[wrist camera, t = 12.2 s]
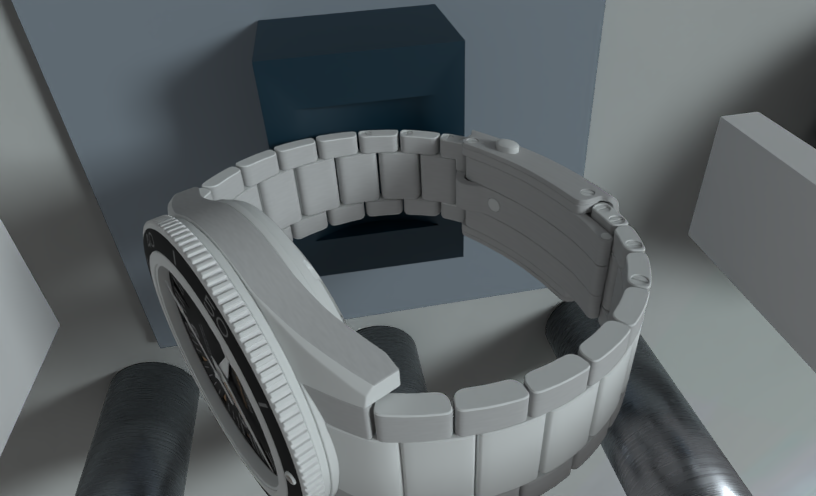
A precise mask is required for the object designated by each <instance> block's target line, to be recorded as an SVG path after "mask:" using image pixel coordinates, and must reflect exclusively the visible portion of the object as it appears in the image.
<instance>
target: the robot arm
mask: <svg viewBox="0 0 816 496" xmlns="http://www.w3.org/2000/svg"><path fill="white" fill-rule="evenodd" d="M688 235H689V236H690V237H691V239H692V240H693V241H694V242H695V243H696V244H697V245H698V246H699V247H700V248H701V249H702V250H703V252H704V253H705V254H706V255H707V256H708V257H709V258H710V259H711V260H712V261H713V262H714V263H715V264H716V266H717V267H718V268H719V269H720V270H721V271H722V272H723V273H724V274H725V275H726V276H727V277H728V279H729V280H730V281H731V282H732V283H733V284H734V285H735V286H736V287H737V288H738V289H739V290H740V292H741V293H742V294H743V295H744V296H745V297H746V298H747V299H748V300H749V301H750V302H751V303H752V304H753V306H754V307H755V308H756V309H757V310H758V311H759V312H760V313H761V314H762V315H763V316H764V317H765V319H766V320H767V321H768V322H769V323H770V324H771V325H772V326H773V327H774V328H775V329H776V330H777V332H778V333H779V334H780V335H781V336H782V337H783V338H784V339H785V340H786V341H787V342H788V343H789V344H790V346H791V347H792V348H793V349H794V350H795V351H796V352H797V353H798V354H799V355H800V356H801V357H802V359H803V360H804V361H805V362H806V363H807V364H808V365H809V366H810V367H811V368H812V369H813V370H814V372H815V373H816V149H815V148H813V147H812V146H810V145H809V144H807V143H806V142H804V141H803V140H801V139H799V138H798V137H796V136H795V135H793V134H792V133H790V132H789V131H787V130H786V129H784V128H783V127H781V126H780V125H778V124H776V123H775V122H773V121H772V120H770V119H769V118H767V117H766V116H764V115H763V114H761V113H760V112H751V113H743V114H735V115H727V116H720V120H719V123H718V127H717V131H716V134H715V138H714V142H713V145H712V149H711V152H710V156H709V160H708V163H707V167H706V171H705V174H704V178H703V182H702V185H701V189H700V193H699V196H698V200H697V203H696V207H695V211H694V214H693V218H692V222H691V225H690V229H689V233H688ZM59 326H60V323H59V322H58V320H57V318H56V316H55V315H54V313H53V311H52V309H51V308H50V306H49V304H48V302H47V300H46V299H45V297H44V295H43V293H42V292H41V290H40V288H39V286H38V284H37V283H36V281H35V279H34V277H33V276H32V274H31V272H30V270H29V269H28V267H27V265H26V263H25V261H24V260H23V258H22V256H21V254H20V253H19V251H18V249H17V247H16V245H15V244H14V242H13V240H12V238H11V237H10V235H9V233H8V231H7V230H6V228H5V226H4V224H3V222H2V221H1V219H0V456H1V454H2V452H3V449H4V447H5V445H6V443H7V441H8V438H9V436H10V434H11V432H12V430H13V427H14V425H15V423H16V421H17V419H18V416H19V414H20V412H21V410H22V407H23V405H24V403H25V401H26V399H27V396H28V394H29V392H30V390H31V388H32V385H33V383H34V381H35V379H36V377H37V374H38V372H39V370H40V368H41V366H42V363H43V361H44V359H45V357H46V355H47V352H48V350H49V348H50V346H51V344H52V341H53V339H54V337H55V335H56V332H57V330H58V328H59Z"/></svg>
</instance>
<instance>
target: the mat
mask: <svg viewBox="0 0 816 496" xmlns="http://www.w3.org/2000/svg"><path fill="white" fill-rule="evenodd" d="M11 1H12V3H13V5H14V8H15V10H16V12H17V15H18V17H19V19H20V22H21V24H22V26H23V29H24V31H25V33H26V36H27V38H28V40H29V43H30V45H31V47H32V50H33V52H34V54H35V57H36V59H37V61H38V64H39V66H40V68H41V71H42V73H43V75H44V78H45V80H46V82H47V85H48V87H49V89H50V92H51V94H52V96H53V99H54V101H55V103H56V106H57V108H58V110H59V113H60V115H61V117H62V120H63V122H64V124H65V127H66V129H67V131H68V134H69V136H70V138H71V141H72V143H73V145H74V148H75V150H76V153H77V155H78V157H79V160H80V162H81V164H82V167H83V169H84V171H85V174H86V176H87V178H88V181H89V183H90V185H91V188H92V190H93V192H94V195H95V197H96V199H97V202H98V204H99V206H100V209H101V211H102V213H103V216H104V218H105V220H106V223H107V225H108V227H109V230H110V232H111V234H112V237H113V239H114V241H115V244H116V246H117V248H118V251H119V253H120V255H121V258H122V260H123V262H124V265H125V267H126V269H127V272H128V274H129V276H130V279H131V281H132V283H133V286H134V288H135V290H136V293H137V295H138V297H139V300H140V302H141V305H142V307H143V309H144V312H145V314H146V316H147V319H148V321H149V323H150V326H151V328H152V330H153V333H154V335H155V337H156V340H157V342H158V344H159V347H160V348H165V347H171V346H178V345H177V343H176V340H175V338H174V336H173V334H172V331H171V329H170V327H169V324H168V322H167V319H166V317H165V314H164V312H163V309H162V307H161V304H160V301H159V298H158V295H157V293H156V290H155V287H154V284H153V281H152V278H151V275H150V272H149V268H148V265H147V261H146V257H145V252H144V245H143V227H144V225H145V223H146V222H147V221H149V220H151V219H154V218H157V217H159V216H162V215H168V204H169V202H170V200H171V199H172V198H173V196H174V195H175V194H176V193H179V192H182V191H184V190H187V189H190V188H193V187H198V188H202V184H203V183H204V182H206V181H207V180H209V179H210V178H212V177H213V176H215V175H216V174H218V173H220V172H222V171H223V170H225V169H227V168H229V167H236V163H237V162H239V161H241V160H243V159H246V158H248V157H250V156H253V155H255V154H258V153H261V152H263V151H266V150H269V145H268V140H267V135H266V130H265V125H264V120H263V115H262V110H261V105H260V100H259V95H258V90H257V86H256V81H255V76H254V71H253V66H252V57H253V50H254V44H255V37H256V30H257V24H258V20H268V19H278V18H289V17H300V16H311V15H321V14H332V13H343V12H354V11H365V10H375V9H386V8H397V7H408V6H418V5H429V4H435V5H436V6H437V7H438V8H439V10H440V11H441V12H442V13H443V14H444V16H445V17H446V18H447V19H448V20H449V22H450V23H451V24H452V25H453V26H454V28H455V29H456V30H457V31H458V32H459V34H460V35H461V36H462V37H463V39H464V40H465V135H464V137H468V136H470V135H471V132H472V130H475V131H478V132H481V133H484V134H488V135H491V136H494V137H496V138H499V139H509V140H512V141H515V142H517V143H518V144H519V146H521V147H523V148H526V149H528V150H530V151H533V152H535V153H537V154H540V155H542V156H544V157H546V158H548V159H550V160H552V161H554V162H556V163H558V164H560V165H562V166H564V167H566V168H568V169H570V170H571V171H573V172H575V173H577V174H578V175H580V176H582V177H583V176H584V168H585V160H586V152H587V144H588V136H589V128H590V121H591V113H592V105H593V97H594V89H595V81H596V73H597V65H598V57H599V50H600V42H601V34H602V26H603V18H604V10H605V2H606V0H11ZM320 278H321V280H322V281H323V283H324V284H325V286H326V287H327V289H328V291H329V293H330V294H331V296H332V298H333V299H334V301H335V303H336V305H337V306H338V308H339V310H340V312H341V314H342V316H343V318H344V319H350V318H357V317H363V316H369V315H376V314H382V313H389V312H395V311H401V310H408V309H414V308H420V307H427V306H433V305H440V304H446V303H452V302H459V301H465V300H472V299H478V298H484V297H491V296H497V295H503V294H510V293H516V292H523V291H529V290H535V289H542V288H547V287H546V286H545V285H544V284H542V283H541V282H540V281H539V280H537V279H536V278H535V277H534V276H532V275H531V274H530V273H528V272H527V271H526V270H524V269H523V268H522V267H520V266H519V265H517V264H516V263H514V262H513V261H511V260H509V259H508V258H506V257H504V256H503V255H501V254H499V253H498V252H496V251H494V250H492V249H490V248H488V247H487V246H485V245H483V244H481V243H479V242H477V241H475V240H473V239H471V238H469V237H466V236H465V235H464V257H458V258H450V259H443V260H436V261H429V262H421V263H414V264H407V265H400V266H393V267H385V268H378V269H371V270H364V271H357V272H349V273H342V274H335V275H328V276H320Z"/></svg>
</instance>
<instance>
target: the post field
mask: <svg viewBox="0 0 816 496" xmlns="http://www.w3.org/2000/svg"><path fill="white" fill-rule="evenodd" d="M598 317H599V316H598ZM600 327H601V326H600V324H599V322H598V318H595V319H591V318H589V317H587V316H586V315H585V313H584V312H583V311H582V309H581V308H580V307H579V305H578V304H577V303H576V302H575V301H572V302H566V301H565V302H564V303H562V304H561V305H560V306H559V307H558V308H557V309H556V310H555V311H554V312H553V313H552V315H551V316H550V318H549V320H548V322H547V325H546V336H547V339H548V341H549V343H550V345H551V347H552V349H553V351H554V353H555V355H556V357H557V359H559V358H561V357H563V356H565V355H567V354H574V355H577V356H578V350H579V346H580V345H581V344H582V343H583V342H584V341H585V340H587V339H588V338H589V337H590V336H592V335H593V334H594V333H595V332H596V331H597V330H598V329H599V328H600ZM357 333H359V334H360V335H361V336H363V337H364V338H366V339H367V340H368V341H370V342H371V343H373V344H374V345H376V346H377V347H378V348H380V349H381V350H383V351H384V352H385V353H386V354H387V355H388V356H389V357H390V359H391V360H392V361H393V362H394V364H395V365H396V366H397V367H398V369H399V374H400V386H399V387H397V388H396V389H394V390H393V391H391V392H389V393H428V392H427V388H426V384H425V380H424V376H423V372H422V368H421V364H420V360H419V356H418V352H417V348H416V345H415V342H414V340H413V339H412V338H411V337H410V336H409V335H408V334H407V333H406V332H404V331H402V330H400V329H397V328H394V327H389V326H375V327H369V328H365V329H362V330H360V331H358V332H357ZM198 400H199V388H198V386H197V384H196V382H195V380H194V378H193V377H192V376H191V375H189V374H188V373H187V372H185V371H184V370H182V369H180V368H178V367H175V366H172V365H168V364H163V363H141V364H136V365H133V366H130V367H128V368H125V369H124V370H122V371H120V372H119V373H118V374H117V375H116V376H115V377H114V378H113V380H112V381H111V384H110V387H109V390H108V393H107V396H106V399H105V402H104V406H103V409H102V412H101V415H100V418H99V421H98V425H97V428H96V431H95V434H94V437H93V440H92V443H91V447H90V450H89V453H88V456H87V459H86V462H85V466H84V469H83V472H82V475H81V478H80V481H79V484H78V488H77V491H76V494H75V496H184V490H185V484H186V477H187V471H188V464H189V458H190V451H191V445H192V438H193V432H194V426H195V419H196V413H197V406H198ZM600 444H601V446H602V448H603V450H604V452H605V454H606V456H607V457H608V459H609V461H610V463H611V465H612V467H613V469H614V471H615V473H616V475H617V477H618V479H619V481H620V483H621V485H622V487H623V489H624V491H625V493H626V495H627V496H752V494H751V493H750V491H749V490H748V488H747V487H746V486H745V484H744V483H743V481H742V480H741V478H740V477H739V475H738V474H737V473H736V471H735V470H734V468H733V467H732V465H731V464H730V462H729V461H728V460H727V458H726V457H725V455H724V454H723V452H722V451H721V450H720V448H719V447H718V445H717V444H716V442H715V441H714V439H713V438H712V437H711V435H710V434H709V432H708V431H707V429H706V428H705V426H704V425H703V424H702V422H701V421H700V419H699V418H698V416H697V415H696V414H695V412H694V411H693V409H692V408H691V406H690V405H689V403H688V402H687V401H686V399H685V398H684V396H683V395H682V393H681V392H680V390H679V389H678V388H677V386H676V385H675V383H674V382H673V380H672V379H671V377H670V376H669V375H668V373H667V372H666V370H665V369H664V367H663V366H662V365H661V363H660V362H659V360H658V359H657V357H656V356H655V354H654V353H653V352H652V350H651V349H650V347H649V346H648V344H647V343H646V341H645V340H644V339H643V337H642V336H641V334H640V336H639V340H638V344H637V348H636V352H635V356H634V360H633V364H632V368H631V372H630V376H629V380H628V384H627V388H626V392H625V396H624V399H623V403H622V405H621V408H620V410H619V413H618V415H617V417H616V419H615V421H614V422H613V424H612V426H611V427H609V428H608V430H607V434H606V436H605V438H604V439H603V441H602V442H601V443H600Z"/></svg>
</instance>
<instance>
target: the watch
mask: <svg viewBox="0 0 816 496" xmlns="http://www.w3.org/2000/svg"><path fill="white" fill-rule="evenodd" d="M252 66H253V71H254V76H255V81H256V86H257V90H258V95H259V100H260V105H261V110H262V115H263V120H264V125H265V130H266V135H267V140H268V145H269V150H266V151H263V152H261V153H258V154H255V155H253V156H250V157H248V158H246V159H243V160H241V161H239V162H237V163H236V167H229V168H227V169H225V170H223V171H222V172H220V173H218V174H216V175H215V176H213V177H212V178H210V179H209V180H207V181H206V182H204V183H203V184H202V188H198V187H193V188H190V189H187V190H184V191H182V192H179V193H176V194H175V195H174V196H173V198H172V199H171V200H170V202H169V204H168V215H162V216H159V217H157V218H154V219H151V220H149V221H147V222H146V223H145V225H144V227H143V245H144V252H145V257H146V261H147V265H148V268H149V272H150V275H151V278H152V281H153V284H154V287H155V290H156V293H157V295H158V298H159V301H160V304H161V307H162V309H163V312H164V314H165V317H166V319H167V322H168V324H169V327H170V329H171V331H172V334H173V336H174V338H175V340H176V343H177V345H178V347H179V349H180V351H181V354H182V356H183V358H184V360H185V362H186V364H187V366H188V368H189V370H190V372H191V374H192V376H193V378H194V380H195V382H196V384H197V386H198V388H199V390H200V391H201V393H202V395H203V397H204V399H205V401H206V402H207V404H208V406H209V408H210V410H211V411H212V413H213V415H214V417H215V418H216V420H217V422H218V423H219V425H220V427H221V428H222V430H223V432H224V433H225V435H226V437H227V438H228V440H229V441H230V443H231V445H232V446H233V448H234V449H235V451H236V452H237V454H238V455H239V457H240V458H241V460H242V461H243V463H244V464H245V465H246V467H247V468H248V470H249V471H250V472H251V474H252V475H253V476H254V478H255V479H256V481H257V482H258V483H259V485H260V486H261V487H262V489H263V490H264V491H265V492H266V494H267V495H268V496H540V495H542V494H544V493H545V492H547V491H548V490H550V489H552V488H553V487H555V486H556V485H557V484H559V483H560V482H561V481H563V480H564V479H565V478H567V477H568V476H569V475H570V472H571V469H577V468H579V467H580V466H581V465H582V464H583V463H584V462H585V461H586V460H587V459H588V458H589V457H590V456H591V455H592V454H593V452H594V451H595V450H596V449H597V448H598V446H599V445H600V443H601V442H602V441H603V439H604V438H605V436H606V434H607V430H608V428H609V427H611V426H612V424H613V422H614V421H615V419H616V417H617V415H618V413H619V410H620V408H621V405H622V403H623V399H624V396H625V392H626V388H627V384H628V380H629V376H630V372H631V368H632V364H633V360H634V356H635V352H636V348H637V344H638V340H639V336H640V332H641V328H642V324H643V319H644V315H645V311H646V307H647V303H648V298H649V291H650V287H651V267H650V263H649V259H648V256H647V255H646V254H645V246H644V244H643V242H642V241H641V239H640V237H639V235H638V234H637V233H636V231H635V230H634V229H633V228H632V227H631V226H628V221H627V220H626V219H625V218H624V217H623V216H622V215H621V214H620V213H619V203H618V200H617V199H616V198H614V197H613V196H612V195H610V194H609V193H607V192H606V191H604V190H603V189H601V188H600V187H598V186H597V185H595V184H593V183H592V182H590V181H589V180H587V179H585V178H584V177H582V176H580V175H578V174H577V173H575V172H573V171H571V170H570V169H568V168H566V167H564V166H562V165H560V164H558V163H556V162H554V161H552V160H550V159H548V158H546V157H544V156H542V155H540V154H537V153H535V152H533V151H530V150H528V149H526V148H523V147H521V146H519V144H518V143H517V142H515V141H512V140H509V139H499V138H496V137H494V136H491V135H488V134H484V133H481V132H478V131H475V130H472V132H471V135H470V136H468V137H464V135H465V40H464V39H463V37H462V36H461V35H460V34H459V32H458V31H457V30H456V29H455V28H454V26H453V25H452V24H451V23H450V22H449V20H448V19H447V18H446V17H445V16H444V14H443V13H442V12H441V11H440V10H439V8H438V7H437V6H436V5H435V4H429V5H418V6H408V7H397V8H386V9H375V10H365V11H354V12H343V13H332V14H321V15H311V16H300V17H289V18H278V19H268V20H258V24H257V30H256V37H255V44H254V50H253V57H252ZM464 235H465V236H466V237H469V238H471V239H473V240H475V241H477V242H479V243H481V244H483V245H485V246H487V247H488V248H490V249H492V250H494V251H496V252H498V253H499V254H501V255H503V256H504V257H506V258H508V259H509V260H511V261H513V262H514V263H516V264H517V265H519V266H520V267H522V268H523V269H524V270H526V271H527V272H528V273H530V274H531V275H532V276H534V277H535V278H536V279H537V280H539V281H540V282H541V283H542V284H544V285H545V286H546V287H547V288H548V289H549V290H551V291H552V292H553V293H554V294H555V295H556V296H557V297H559V298H560V299H561V300H563V301H566V302H572V301H575V302H576V303H577V304H578V305H579V307H580V308H581V309H582V311H583V312H584V313H585V315H586V316H587V317H589V318H591V319H595V318H598V322H599V324H600V326H601V327H600V328H599V329H598V330H597V331H596V332H595V333H594V334H593V335H592V336H590V337H589V338H588V339H587V340H585V341H584V342H583V343H582V344H581V345H580V346H579V350H578V356H577V355H574V354H567V355H565V356H563V357H561V358H559V359H557V360H555V361H553V362H551V363H549V364H547V365H545V366H542V367H540V368H537V369H535V370H533V371H530V372H529V373H527V374H526V375H525V377H524V386H523V384H521V383H520V382H519V381H517V380H513V379H509V380H504V381H500V382H495V383H491V384H486V385H481V386H475V387H468V388H463V389H460V390H458V391H457V392H456V393H455V395H454V399H453V400H454V417H453V409H452V405H451V402H450V400H449V398H448V397H447V396H446V395H445V394H443V393H439V392H430V393H389V392H391V391H393V390H394V389H396V388H397V387H399V386H400V374H399V369H398V367H397V366H396V365H395V364H394V362H393V361H392V360H391V359H390V357H389V356H388V355H387V354H386V353H385V352H384V351H383V350H381V349H380V348H378V347H377V346H376V345H374V344H373V343H371V342H370V341H368V340H367V339H366V338H364V337H363V336H361V335H360V334H359V333H357V332H356V331H354V330H353V329H352V328H350V327H349V326H347V324H346V322H345V320H344V318H343V316H342V314H341V312H340V310H339V308H338V306H337V305H336V303H335V301H334V299H333V298H332V296H331V294H330V293H329V291H328V289H327V287H326V286H325V284H324V283H323V281H322V280H321V278H320V276H328V275H335V274H342V273H349V272H357V271H364V270H371V269H378V268H385V267H393V266H400V265H407V264H414V263H421V262H429V261H436V260H443V259H450V258H458V257H464ZM598 316H599V317H598Z"/></svg>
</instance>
